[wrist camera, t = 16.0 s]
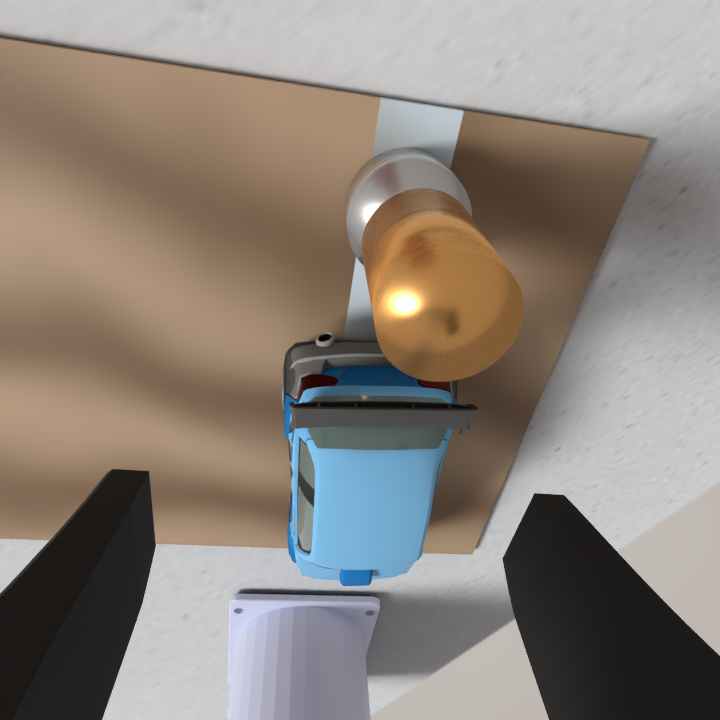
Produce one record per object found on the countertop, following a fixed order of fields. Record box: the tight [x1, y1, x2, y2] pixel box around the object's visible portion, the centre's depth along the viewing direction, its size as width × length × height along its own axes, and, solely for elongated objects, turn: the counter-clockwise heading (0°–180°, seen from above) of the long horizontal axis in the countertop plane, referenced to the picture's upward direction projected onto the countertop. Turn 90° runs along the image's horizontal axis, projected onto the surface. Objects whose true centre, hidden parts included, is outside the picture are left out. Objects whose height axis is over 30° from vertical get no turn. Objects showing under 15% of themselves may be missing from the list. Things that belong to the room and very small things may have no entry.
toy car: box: [282, 332, 478, 586], centre depth 19 cm, size 6×12×6 cm, turn 176°
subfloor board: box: [0, 37, 650, 554], centre depth 20 cm, size 20×24×1 cm
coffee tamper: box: [345, 147, 524, 382], centre depth 13 cm, size 4×4×7 cm
